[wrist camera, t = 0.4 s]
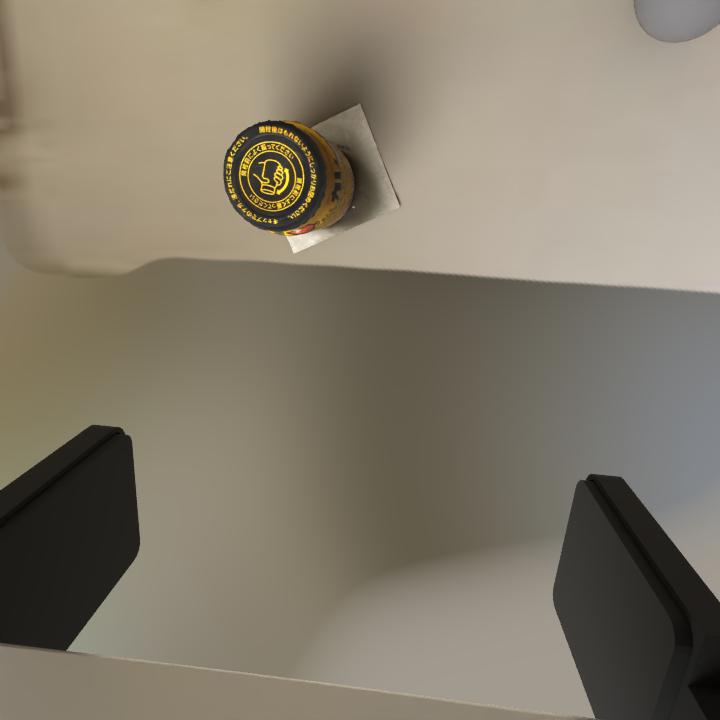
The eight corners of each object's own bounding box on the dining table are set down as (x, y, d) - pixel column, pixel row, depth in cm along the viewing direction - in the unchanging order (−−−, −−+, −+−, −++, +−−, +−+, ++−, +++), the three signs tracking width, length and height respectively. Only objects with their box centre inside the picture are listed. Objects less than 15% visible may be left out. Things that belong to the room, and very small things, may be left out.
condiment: (251, 157, 36) (180, 137, 25) (360, 103, 34) (338, 56, 23) (294, 253, 38) (247, 276, 26) (400, 206, 36) (398, 209, 25)
